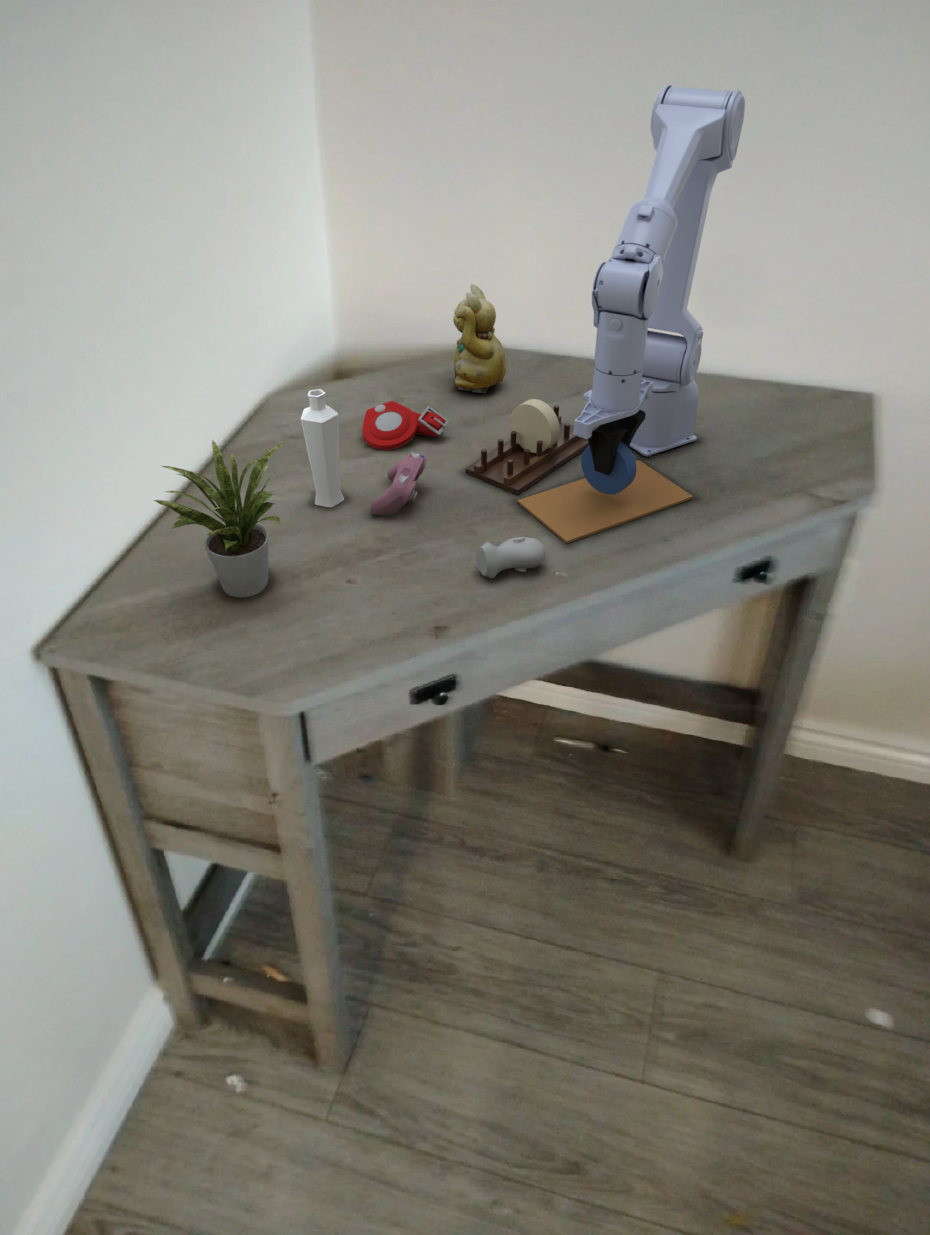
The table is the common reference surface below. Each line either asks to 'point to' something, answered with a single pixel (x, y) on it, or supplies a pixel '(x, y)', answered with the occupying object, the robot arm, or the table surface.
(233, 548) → the house plant
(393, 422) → the tracker holder
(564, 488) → the mat
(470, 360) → the decorative figurine
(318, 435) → the white faceted vase
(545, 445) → the cream disc
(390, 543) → the table surface
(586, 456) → the blue disc
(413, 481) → the video game controller
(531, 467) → the rack
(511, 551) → the smooth white sculpture
